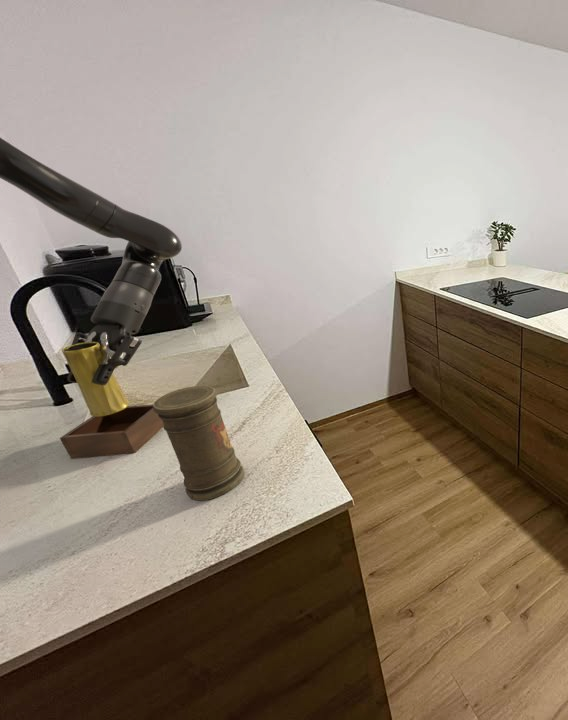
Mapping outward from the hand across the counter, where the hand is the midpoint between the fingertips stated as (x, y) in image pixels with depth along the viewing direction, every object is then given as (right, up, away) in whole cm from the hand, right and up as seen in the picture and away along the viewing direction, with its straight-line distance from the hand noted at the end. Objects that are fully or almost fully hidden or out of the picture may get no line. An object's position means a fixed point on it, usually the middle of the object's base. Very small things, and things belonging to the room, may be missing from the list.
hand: (86, 382), depth 74 cm
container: (+30, -18, -5) cm, 35 cm away
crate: (0, -13, +7) cm, 15 cm away
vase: (0, -6, +5) cm, 8 cm away
